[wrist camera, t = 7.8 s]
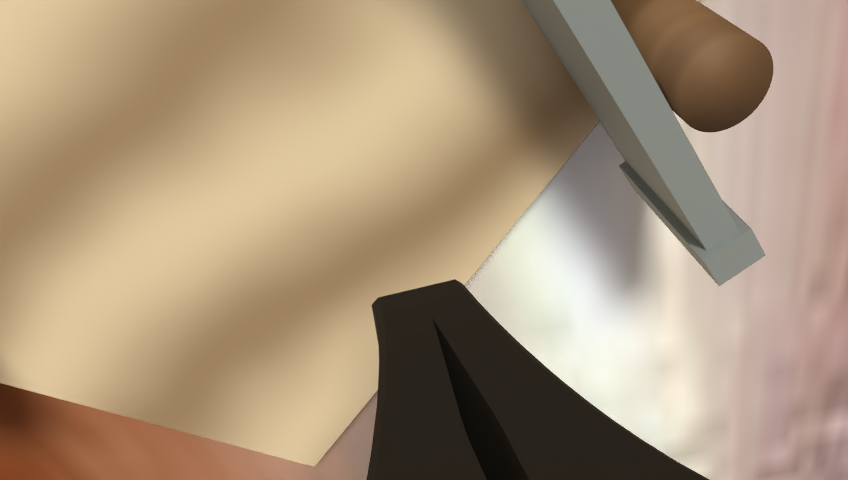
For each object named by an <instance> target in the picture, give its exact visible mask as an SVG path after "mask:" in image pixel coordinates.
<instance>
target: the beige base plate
mask: <svg viewBox="0 0 848 480" xmlns="http://www.w3.org/2000/svg"><path fill="white" fill-rule="evenodd" d="M611 2H612V4H613V5H614V7H615V9H616V11H617V13H618V14H619V16H620V18H621V20H622V22H623V23H624V25H625V27H626V29H627V30H628V32H629V34H630V36H631V38H632V39H633V41H634V43H635V45H636V47H637V48H638V50H639V52H640V54H641V56H642V57H643V59H644V61H645V63H646V65H647V66H648V68H649V70H650V72H651V74H652V75H653V77H654V79H655V81H656V83H657V84H658V86H659V88H660V90H661V92H662V93H663V95H664V97H665V99H666V101H667V102H668V104H669V106H670V108H671V109H672V111H674V112H675V113H676V114H677V115H678V116H679V117H680V118H681V119H683V120H684V121H685V122H686V123H687V124H688V125H689V126H690V127H692V128H694V129H696V130H698V131H702V132H718V131H722V130H725V129H728V128H730V127H733V126H735V125H736V124H738V123H740V122H741V121H743V120H744V119H746V118H747V117H748V116H749V115H750V114H751V113H752V112H753V111H754V110H755V109H756V108H757V107H758V106H759V104H760V103H761V102H762V100H763V99H764V97H765V95H766V93H767V91H768V89H769V87H770V84H771V81H772V76H773V61H772V57H771V54H770V52H769V50H768V49H767V47H766V46H765V45H764V44H763V43H761V42H760V41H758V40H757V39H755V38H754V37H752V36H751V35H749V34H748V33H746V32H744V31H743V30H741V29H740V28H738V27H737V26H735V25H734V24H732V23H730V22H729V21H727V20H726V19H724V18H723V17H721V16H720V15H718V14H716V13H715V12H713V11H712V10H710V9H709V8H707V7H706V6H704V5H702V4H701V3H699V0H611ZM598 123H599V119H598V117H597V116H596V114H595V113H594V111H593V110H592V108H591V107H590V105H589V103H588V102H587V100H586V99H585V97H584V96H583V94H582V93H581V91H580V89H579V88H578V86H577V85H576V83H575V82H574V80H573V79H572V77H571V75H570V74H569V72H568V71H567V69H566V68H565V66H564V65H563V63H562V61H561V60H560V58H559V57H558V55H557V54H556V52H555V51H554V49H553V47H552V46H551V44H550V43H549V41H548V40H547V38H546V37H545V35H544V33H543V32H542V30H541V29H540V27H539V26H538V24H537V23H536V21H535V19H534V18H533V16H532V15H531V13H530V12H529V10H528V9H527V7H526V5H525V4H524V2H523V1H522V0H0V383H2V384H6V385H9V386H13V387H17V388H21V389H24V390H28V391H32V392H36V393H39V394H43V395H47V396H51V397H54V398H58V399H62V400H66V401H69V402H73V403H77V404H81V405H84V406H88V407H92V408H96V409H100V410H103V411H107V412H111V413H115V414H118V415H122V416H126V417H130V418H133V419H137V420H141V421H145V422H148V423H152V424H156V425H160V426H163V427H167V428H171V429H175V430H178V431H182V432H186V433H190V434H193V435H197V436H201V437H205V438H208V439H212V440H216V441H220V442H223V443H227V444H231V445H235V446H238V447H242V448H246V449H250V450H253V451H257V452H261V453H265V454H268V455H272V456H276V457H280V458H284V459H287V460H291V461H295V462H299V463H302V464H306V465H310V466H314V467H315V465H316V464H317V463H318V462H319V460H320V459H321V458H322V457H323V456H324V454H325V453H326V452H327V451H328V450H329V448H330V447H331V446H332V445H333V444H334V442H335V441H336V440H337V439H338V437H339V436H340V435H341V434H342V433H343V431H344V430H345V429H346V428H347V427H348V425H349V424H350V423H351V422H352V421H353V419H354V418H355V417H356V416H357V414H358V413H359V412H360V411H361V410H362V408H363V407H364V406H365V405H366V404H367V402H368V401H369V400H370V399H371V397H372V396H373V395H374V394H375V393H376V391H377V390H378V376H379V345H378V340H377V334H376V328H375V322H374V316H373V311H372V304H373V303H374V302H375V300H376V299H377V298H378V297H382V296H386V295H391V294H395V293H399V292H403V291H408V290H412V289H416V288H420V287H424V286H429V285H433V284H437V283H441V282H446V281H450V280H454V279H456V280H457V281H459V282H461V283H462V284H463V285H465V284H466V282H467V281H468V280H469V279H470V278H471V276H472V275H473V274H474V273H475V272H476V270H477V269H478V268H479V267H480V266H481V264H482V263H483V262H484V261H485V259H486V258H487V257H488V256H489V255H490V253H491V252H492V251H493V250H494V249H495V247H496V246H497V245H498V244H499V243H500V241H501V240H502V239H503V238H504V236H505V235H506V234H507V233H508V232H509V230H510V229H511V228H512V227H513V226H514V224H515V223H516V222H517V221H518V220H519V218H520V217H521V216H522V215H523V213H524V212H525V211H526V210H527V209H528V207H529V206H530V205H531V204H532V203H533V201H534V200H535V199H536V198H537V196H538V195H539V194H540V193H541V192H542V190H543V189H544V188H545V187H546V186H547V184H548V183H549V182H550V181H551V180H552V178H553V177H554V176H555V175H556V173H557V172H558V171H559V170H560V169H561V167H562V166H563V165H564V164H565V163H566V161H567V160H568V159H569V158H570V157H571V155H572V154H573V153H574V152H575V150H576V149H577V148H578V147H579V146H580V144H581V143H582V142H583V141H584V140H585V138H586V137H587V136H588V135H589V134H590V132H591V131H592V130H593V129H594V127H595V126H596V125H597V124H598Z"/></svg>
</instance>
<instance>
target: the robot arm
mask: <svg viewBox="0 0 848 480" xmlns="http://www.w3.org/2000/svg"><path fill="white" fill-rule="evenodd" d="M372 311H373V316H374V322H375V328H376V334H377V340H378V345H379V376H378V398H377V411H376V419H375V427H374V435H373V443H372V451H371V457H370V463H369V469H368V475H367V480H709V479H707V478H705V477H704V476H702V475H700V474H698V473H696V472H695V471H693V470H691V469H689V468H687V467H686V466H684V465H682V464H680V463H678V462H677V461H675V460H673V459H672V458H670V457H668V456H667V455H665V454H664V453H662V452H660V451H659V450H657V449H656V448H654V447H653V446H651V445H649V444H648V443H646V442H645V441H643V440H641V439H640V438H639V437H637V436H636V435H634V434H633V433H631V432H630V431H628V430H627V429H625V428H624V427H622V426H621V425H619V424H618V423H616V422H615V421H614V420H612V419H611V418H610V417H608V416H607V415H605V414H604V413H603V412H601V411H600V410H599V409H597V408H596V407H595V406H593V405H592V404H591V403H589V402H588V401H587V400H585V399H584V398H583V397H582V396H580V395H579V394H578V393H577V392H575V391H574V390H573V389H572V388H570V387H569V386H568V385H567V384H565V383H564V382H563V381H562V380H561V379H559V378H558V377H557V376H556V375H555V374H553V373H552V372H551V371H550V370H549V369H548V368H546V367H545V366H544V365H543V364H542V363H541V362H540V361H539V360H538V359H536V358H535V357H534V356H533V355H532V354H531V353H530V352H529V351H528V350H526V349H525V348H524V347H523V346H522V345H521V344H520V343H519V342H518V341H517V340H516V339H515V338H513V337H512V336H511V335H510V334H509V333H508V332H507V331H506V330H505V329H504V328H503V327H502V326H501V325H500V324H499V323H498V322H497V321H496V320H495V319H494V318H493V317H492V316H491V315H490V314H489V313H488V311H487V310H486V309H485V308H484V307H483V306H482V305H481V304H480V303H479V302H478V301H477V300H476V299H475V297H474V296H473V295H472V294H471V293H470V292H469V291H468V290H467V288H466V287H465V286H464V285H463V284H462V283H461V282H459V281H457V280H456V279H454V280H450V281H446V282H441V283H437V284H433V285H429V286H424V287H420V288H416V289H412V290H408V291H403V292H399V293H395V294H391V295H386V296H382V297H378V298H377V299H376V300H375V302H374V303H373V304H372Z"/></svg>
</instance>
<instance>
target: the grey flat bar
mask: <svg viewBox="0 0 848 480" xmlns="http://www.w3.org/2000/svg"><path fill="white" fill-rule="evenodd" d="M522 1H523V2H524V4H525V5H526V7H527V9H528V10H529V12H530V13H531V15H532V16H533V18H534V19H535V21H536V23H537V24H538V26H539V27H540V29H541V30H542V32H543V33H544V35H545V37H546V38H547V40H548V41H549V43H550V44H551V46H552V47H553V49H554V51H555V52H556V54H557V55H558V57H559V58H560V60H561V61H562V63H563V65H564V66H565V68H566V69H567V71H568V72H569V74H570V75H571V77H572V79H573V80H574V82H575V83H576V85H577V86H578V88H579V89H580V91H581V93H582V94H583V96H584V97H585V99H586V100H587V102H588V103H589V105H590V107H591V108H592V110H593V111H594V113H595V114H596V116H597V117H598V119H599V121H600V122H601V124H602V125H603V127H604V128H605V130H606V131H607V133H608V135H609V136H610V138H611V139H612V141H613V142H614V144H615V145H616V147H617V149H618V150H619V152H620V153H621V155H622V156H623V158H624V159H625V162H624V163H622V164H621V165H620V168H621V169H622V171H623V173H624V174H625V176H626V177H627V179H628V180H629V182H630V183H631V185H632V186H633V188H634V189H635V191H636V192H637V193H638V194H639V195H640V196H641V198H642V199H643V200H644V201H645V202H646V203H647V204H648V206H649V207H650V208H651V209H652V210H653V211H654V212H655V213H656V215H657V216H658V217H659V218H660V219H661V220H662V221H663V223H664V224H665V225H666V226H667V227H668V228H669V229H670V231H671V232H672V233H673V234H674V235H675V236H676V237H677V239H678V240H679V241H680V242H681V243H682V244H683V245H684V247H685V248H686V249H687V250H688V251H689V252H690V253H691V255H692V256H693V257H694V258H695V259H696V260H697V261H698V263H699V264H700V265H701V266H702V267H703V268H704V269H705V271H706V272H707V273H708V274H709V275H710V276H711V277H712V279H713V280H714V281H715V282H716V283H717V284H718V285H719V286H721V285H722V284H723V283H725V282H726V281H728V280H729V279H731V278H732V277H734V276H735V275H737V274H738V273H740V272H741V271H743V270H744V269H746V268H747V267H749V266H750V265H752V264H753V263H755V262H756V261H758V260H759V259H761V258H762V257H764V256H765V253H764V251H763V250H762V248H761V246H760V244H759V242H758V240H757V238H756V237H755V235H754V233H753V231H752V229H751V228H750V227H749V226H748V225H747V224H746V223H745V222H744V221H743V220H742V219H741V218H740V217H739V216H738V215H737V214H736V213H735V212H734V211H733V210H732V209H731V208H730V207H729V206H728V205H727V204H726V203H725V202H724V201H723V200H722V199H721V197H720V196H719V194H718V192H717V190H716V188H715V187H714V185H713V183H712V181H711V180H710V178H709V176H708V174H707V172H706V171H705V169H704V167H703V165H702V163H701V162H700V160H699V158H698V156H697V154H696V153H695V151H694V149H693V147H692V145H691V144H690V142H689V140H688V138H687V136H686V135H685V133H684V131H683V129H682V127H681V126H680V124H679V122H678V120H677V118H676V117H675V115H674V113H673V111H672V109H671V108H670V106H669V104H668V102H667V101H666V99H665V97H664V95H663V93H662V92H661V90H660V88H659V86H658V84H657V83H656V81H655V79H654V77H653V75H652V74H651V72H650V70H649V68H648V66H647V65H646V63H645V61H644V59H643V57H642V56H641V54H640V52H639V50H638V48H637V47H636V45H635V43H634V41H633V39H632V38H631V36H630V34H629V32H628V30H627V29H626V27H625V25H624V23H623V22H622V20H621V18H620V16H619V14H618V13H617V11H616V9H615V7H614V5H613V4H612V2H611V0H522Z"/></svg>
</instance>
